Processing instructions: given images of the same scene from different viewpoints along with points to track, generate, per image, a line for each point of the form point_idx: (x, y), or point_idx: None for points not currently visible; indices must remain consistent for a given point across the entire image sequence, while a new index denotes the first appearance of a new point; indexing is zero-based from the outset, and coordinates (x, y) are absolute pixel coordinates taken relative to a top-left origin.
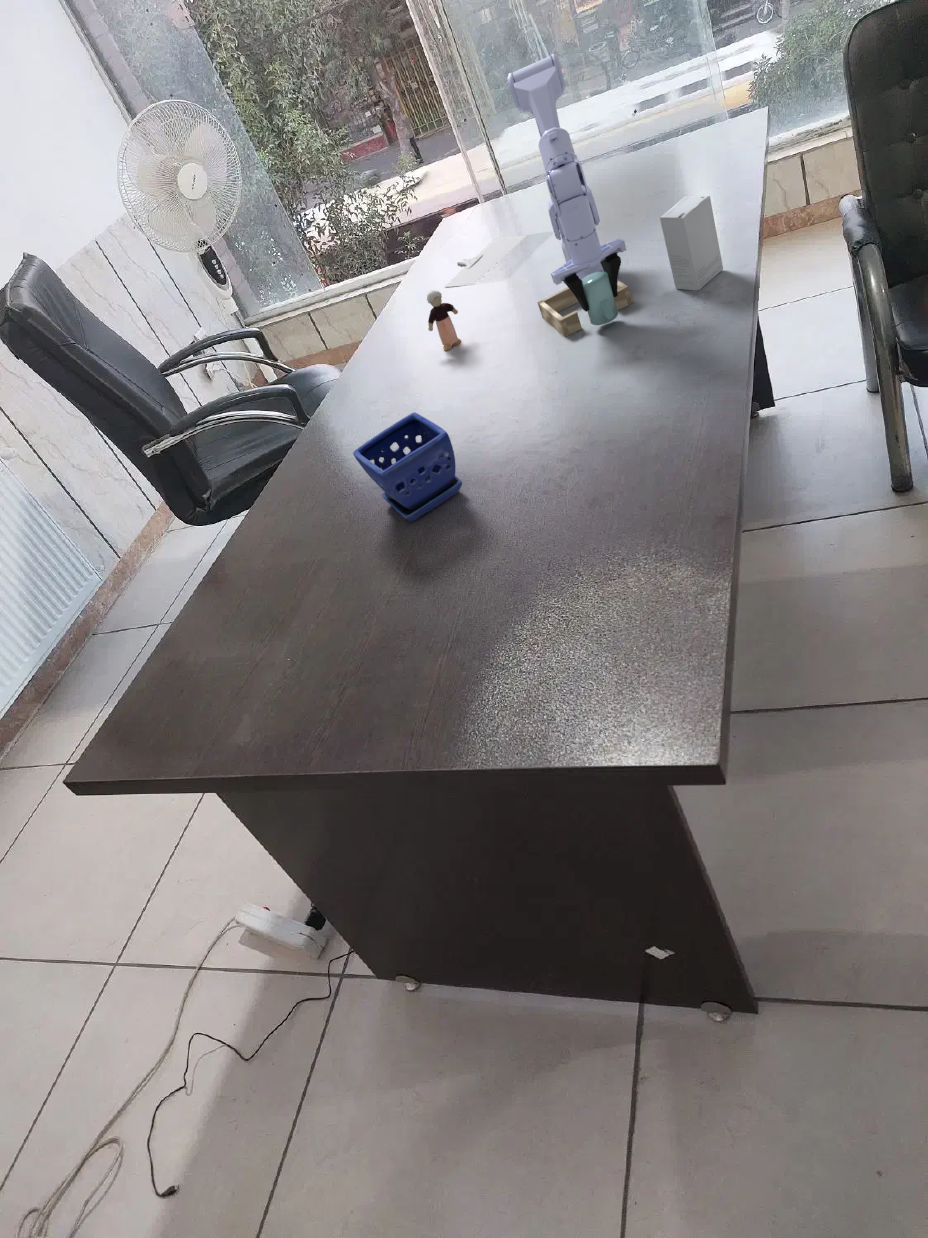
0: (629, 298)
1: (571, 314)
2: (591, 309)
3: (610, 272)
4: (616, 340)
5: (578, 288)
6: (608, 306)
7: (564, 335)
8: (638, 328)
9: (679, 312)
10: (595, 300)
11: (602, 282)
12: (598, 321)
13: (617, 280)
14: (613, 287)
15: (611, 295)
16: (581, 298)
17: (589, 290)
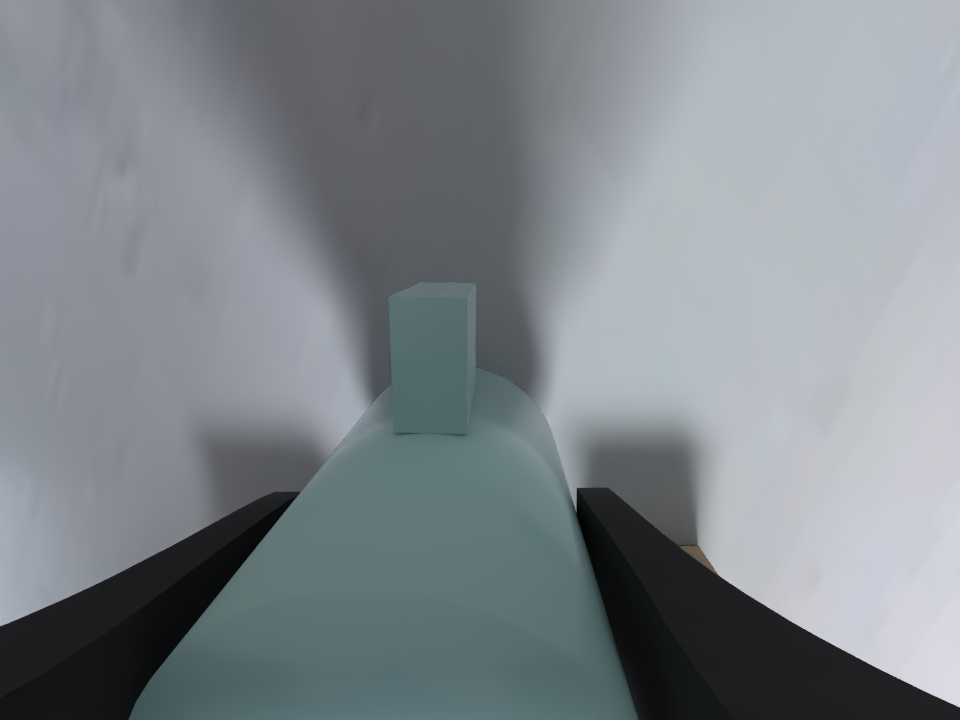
0: None
1: None
2: (560, 471)
3: (37, 710)
4: (495, 169)
5: (846, 701)
6: (430, 292)
7: (701, 554)
8: (320, 190)
9: (33, 136)
10: (514, 467)
11: (304, 568)
12: (527, 399)
13: (125, 571)
14: (239, 532)
15: (320, 468)
16: (696, 564)
17: (564, 591)
